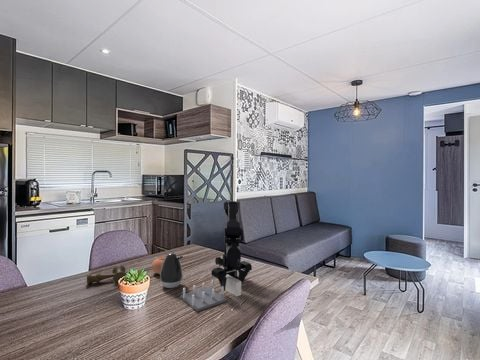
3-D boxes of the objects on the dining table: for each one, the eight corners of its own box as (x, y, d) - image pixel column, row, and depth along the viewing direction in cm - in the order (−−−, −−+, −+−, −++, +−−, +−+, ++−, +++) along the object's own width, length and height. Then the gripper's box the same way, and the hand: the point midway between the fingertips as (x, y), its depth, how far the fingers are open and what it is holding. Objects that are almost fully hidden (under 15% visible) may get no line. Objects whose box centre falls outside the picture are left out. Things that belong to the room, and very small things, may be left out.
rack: (209, 288, 120) (209, 277, 120) (227, 300, 109) (228, 288, 109) (179, 297, 111) (179, 286, 111) (196, 311, 100) (196, 298, 100)
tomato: (156, 278, 131) (156, 262, 131) (148, 272, 139) (148, 256, 139) (176, 273, 138) (176, 258, 137) (167, 267, 146) (168, 253, 146)
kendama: (87, 281, 127) (132, 274, 136) (86, 290, 118) (134, 281, 127) (87, 269, 126) (132, 262, 135) (85, 277, 118) (134, 269, 127)
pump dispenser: (177, 291, 117) (177, 257, 116) (155, 289, 119) (156, 255, 118) (186, 282, 127) (187, 251, 126) (166, 280, 129) (166, 249, 128)
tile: (227, 287, 123) (227, 274, 123) (241, 295, 115) (241, 281, 115) (223, 288, 121) (223, 275, 121) (236, 296, 114) (236, 282, 113)
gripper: (237, 246, 130) (237, 278, 130) (205, 252, 118) (204, 287, 119) (252, 251, 121) (252, 285, 122) (219, 259, 110) (218, 296, 110)
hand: (231, 288), depth 118 cm, fingers open, 9 cm apart
